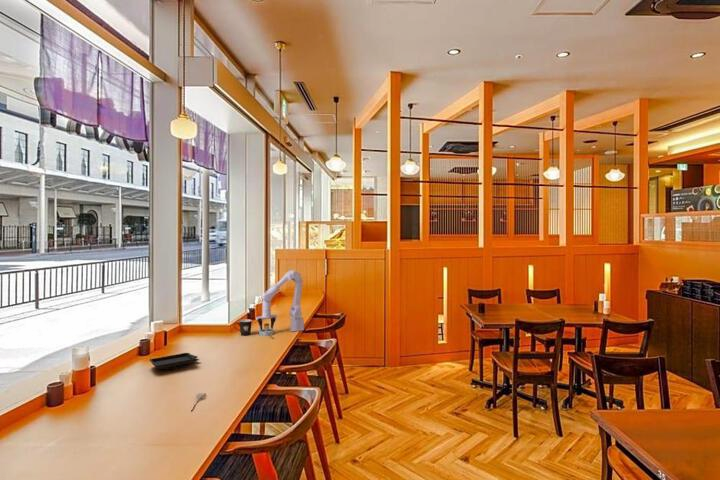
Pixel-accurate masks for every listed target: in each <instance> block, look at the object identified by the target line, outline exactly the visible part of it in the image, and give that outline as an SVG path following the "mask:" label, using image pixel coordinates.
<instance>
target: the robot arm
mask: <svg viewBox="0 0 720 480" xmlns="http://www.w3.org/2000/svg"><path fill="white" fill-rule="evenodd" d="M288 281H293V282H294V292H293V297H292V298H293V299H292V305H291V306H290V309H289V310H288V311H289V316H290V328H288V330H289V331H291V332H300V331H304V330H305V320H304V317H302V313H303V312H302V307H301V300H302V294H303V293H302V292H303V284H304V283H303V282H304V280H303V278H302V274H301V273H300V272H299V271H298V270H293V269H289V270H288V271H287V272H286V273H285V274H284V276H282V277H281V278H280V280H278V282H277V283H276V284H272V285H271V286H270V287H269V289H267V290H266V291H265V292H263V293H262V295H261V297H260V299H261V301H262V309H261V310H262V311H261V312H262V314H261V315H259V316H255V319H256V322H258V325H259V330H262V329H263V320H268V319H269V320H270V329H273V328H274V325H275V322H276V321H277V318H278V316H277V314H271V311H272V308H271V307H272V305H271V304H272V303H271V301H272V300H273V297H274V296H276V294H277V293H278V292H279V291H280V288H281V287H282V286H283V285H284V284H285V283H287V282H288ZM273 330H274V329H273Z"/></svg>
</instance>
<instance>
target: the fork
mask: <svg viewBox="0 0 720 480" xmlns="http://www.w3.org/2000/svg"><path fill="white" fill-rule="evenodd" d="M205 393H206V392H199V393H197V394H196V396H195V398H196V400H195V402H196V404H197V403H198V402H199V400H200V399H201V398H202V397H203V396H204V394H205ZM197 401H198V402H197Z"/></svg>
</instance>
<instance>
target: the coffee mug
mask: <svg viewBox="0 0 720 480" xmlns="http://www.w3.org/2000/svg"><path fill="white" fill-rule="evenodd" d="M252 323H253V320H252V319H249V318H248V319H247V318H245V319H240V320H239V321H238V322H235V323H234V324H233V328H234V329H235V330H237V331H238V332H240V336H242V337H248V336H250V335H251V331H252ZM235 325H238V326H239V328H237V327H236V326H235Z"/></svg>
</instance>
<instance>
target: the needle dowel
mask: <svg viewBox="0 0 720 480" xmlns="http://www.w3.org/2000/svg"><path fill="white" fill-rule="evenodd" d="M263 325H264V328H263V329H264V331H269V329H270V324H269V323H264V324H263Z"/></svg>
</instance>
